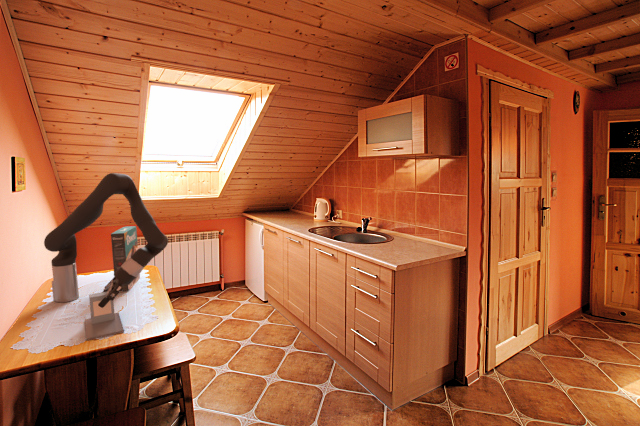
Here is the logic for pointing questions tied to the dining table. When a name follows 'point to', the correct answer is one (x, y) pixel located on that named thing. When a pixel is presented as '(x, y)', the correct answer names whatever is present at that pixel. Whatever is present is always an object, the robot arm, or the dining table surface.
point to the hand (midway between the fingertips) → (99, 303)
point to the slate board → (103, 328)
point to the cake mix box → (124, 249)
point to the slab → (98, 312)
